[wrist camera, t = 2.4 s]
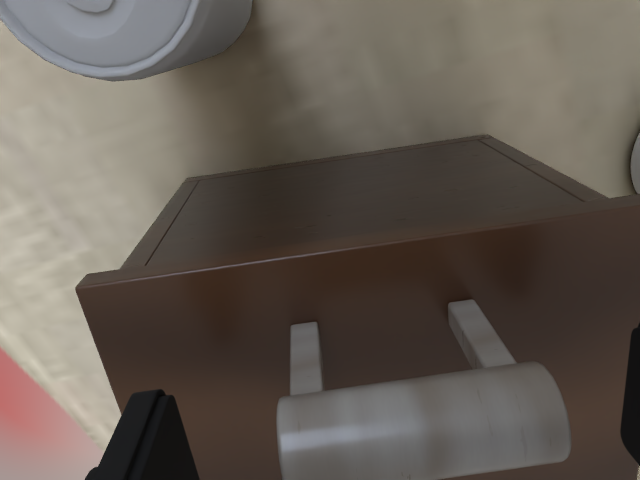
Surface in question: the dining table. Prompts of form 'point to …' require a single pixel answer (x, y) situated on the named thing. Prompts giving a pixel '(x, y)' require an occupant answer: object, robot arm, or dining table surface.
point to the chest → (351, 198)
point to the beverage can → (125, 33)
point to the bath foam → (636, 165)
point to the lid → (392, 349)
